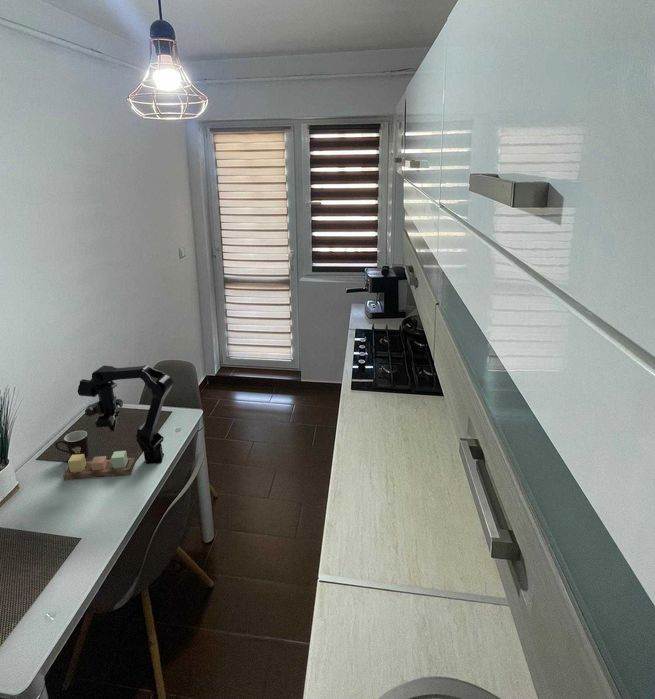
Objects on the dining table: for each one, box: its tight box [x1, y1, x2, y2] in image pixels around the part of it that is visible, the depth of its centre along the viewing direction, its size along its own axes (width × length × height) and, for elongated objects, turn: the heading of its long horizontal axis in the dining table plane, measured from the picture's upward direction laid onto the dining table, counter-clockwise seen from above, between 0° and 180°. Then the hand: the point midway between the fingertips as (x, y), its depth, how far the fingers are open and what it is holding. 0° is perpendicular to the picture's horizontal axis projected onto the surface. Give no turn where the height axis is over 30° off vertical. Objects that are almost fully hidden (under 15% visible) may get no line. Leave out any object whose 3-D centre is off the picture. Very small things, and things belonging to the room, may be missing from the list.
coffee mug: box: [55, 430, 90, 459], centre depth 204 cm, size 12×9×10 cm
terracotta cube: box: [90, 455, 108, 471], centre depth 195 cm, size 5×5×5 cm
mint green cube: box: [110, 450, 129, 469], centre depth 196 cm, size 5×5×5 cm
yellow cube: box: [67, 454, 87, 472], centre depth 194 cm, size 5×5×5 cm
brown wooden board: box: [62, 457, 137, 482], centre depth 196 cm, size 25×9×2 cm, turn 98°
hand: (113, 430), depth 202 cm, fingers closed
